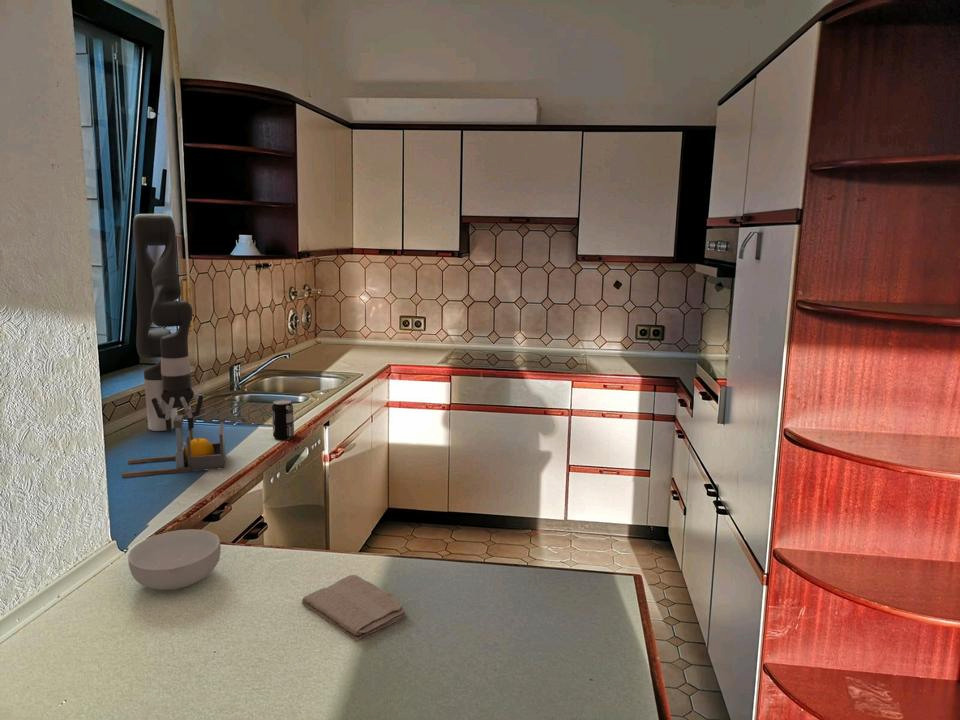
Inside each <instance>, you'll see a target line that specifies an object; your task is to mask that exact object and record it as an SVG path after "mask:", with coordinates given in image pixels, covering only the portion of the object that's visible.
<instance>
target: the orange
mask: <svg viewBox="0 0 960 720" xmlns="http://www.w3.org/2000/svg"><path fill="white" fill-rule="evenodd" d="M211 443H212V442H210V441H209V440H208V439H206V438H202V437H200V438H193V440H192V441H190V446H191V457H194V456H206V455H214V448H213V446H212V444H211ZM185 458H186V462H188V451H187V445H186V448H185Z"/></svg>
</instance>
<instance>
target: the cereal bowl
mask: <svg viewBox="0 0 960 720" xmlns="http://www.w3.org/2000/svg"><path fill="white" fill-rule="evenodd" d="M221 547H222V546H221V540H220V538H219V536H218V535H217V534H216V533H213V532H212V531H208V530H204V529H196V528H194V529H179V530H173V531H167V532H163V533H159V534H156V535H152V536H150V537H148V538H146V539H144V540H142V541H141V542H139V543H137V544H136V545H135V546H134V547H132V549H130V551H129V553H128V557H127V560H128V566H129V570H130V574H131V576H132V578H133V579H134V580H135V581H136V582H137V583H139V584H140V585H142V586H144V587H145V588H146V587H147V588H148V589H153V590H161V591H162V590H163V591H164V590H165V591H175V590H176V591H177V590H182V589H185V588H187V587H190V586H192V585H194V584H195V583H197V582H199V581H201V580H203V579H204V578H206V577H207V576H208V575H210V574H211V572H213V570H215V568H216V567H217V565H218V563H219V562H220V559H221V553H222V552H221V549H222V548H221Z"/></svg>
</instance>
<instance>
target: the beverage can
mask: <svg viewBox="0 0 960 720" xmlns="http://www.w3.org/2000/svg"><path fill="white" fill-rule="evenodd" d="M271 417H272V419H271V420H272V436H273V437H274V439H276V440H278V439H279V441H285V440H290V439H292V438H293V437H294V435H295V426H294V425H295V423H294V421H295V420H294V417H295V416H294V404H293V403H292V400H291V399H283V398H282V399H277V400H276V399H275V400H274V401H273V402H272V405H271Z"/></svg>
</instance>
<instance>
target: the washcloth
mask: <svg viewBox="0 0 960 720" xmlns="http://www.w3.org/2000/svg"><path fill="white" fill-rule="evenodd" d="M301 605H303V606H304V607H305V608H307V609H308V610H310V611H311V612H312V613H314V614H316V615H318V616H319V617H320V618H321V619H324V621H325V622H328V623H329V624H330V625H333V626H334V627H335V628H336V629H339V630H340V631H342V632H343V633H344V634H345V635H347V636H348V637H350V639H352V640H353V641H355V642H360V640H361V639H362V640H363V639H367V638H370V637H372V636H374V635H377V634H378V633H380V632H382V631H383V630H385V629H387V628H389V627H391V626H394V625H395V624H397V623H399V622H401V621H403V620H404V619H406V618H407V617H408V614H407V613H406V611H405V610H404V609H403V608H402V607H403V606H404V605H403V603H402V602H401V601H399V600H397V599H395V598H394V596H393V595H391V592H389V591H387V590H384V589H382V588H380V587H378V586H377V585H376V584H373V583H371V582H370V581H368V580H366V579H364V578H362V577H360V576H358V575H356V574H350V575H347V576H345V577H344V578H342V579H339V580H338V581H336V582H335V583H333V584H331V585H329V586H327V587H323V588H320V589H317V590H315V591H313V592H312V593H311V592H310V593H309V594H307V595H305V596H303V598H302V600H301Z"/></svg>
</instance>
